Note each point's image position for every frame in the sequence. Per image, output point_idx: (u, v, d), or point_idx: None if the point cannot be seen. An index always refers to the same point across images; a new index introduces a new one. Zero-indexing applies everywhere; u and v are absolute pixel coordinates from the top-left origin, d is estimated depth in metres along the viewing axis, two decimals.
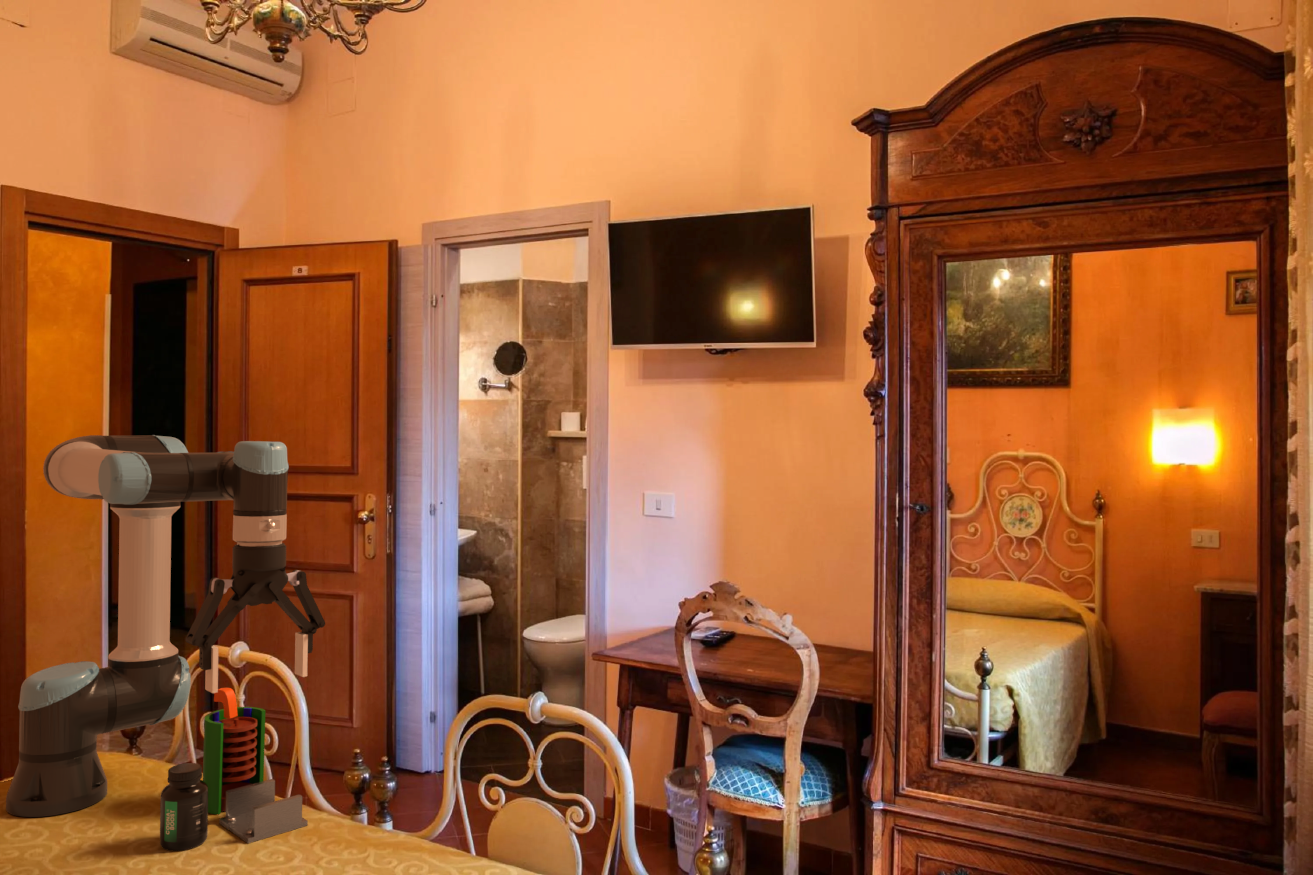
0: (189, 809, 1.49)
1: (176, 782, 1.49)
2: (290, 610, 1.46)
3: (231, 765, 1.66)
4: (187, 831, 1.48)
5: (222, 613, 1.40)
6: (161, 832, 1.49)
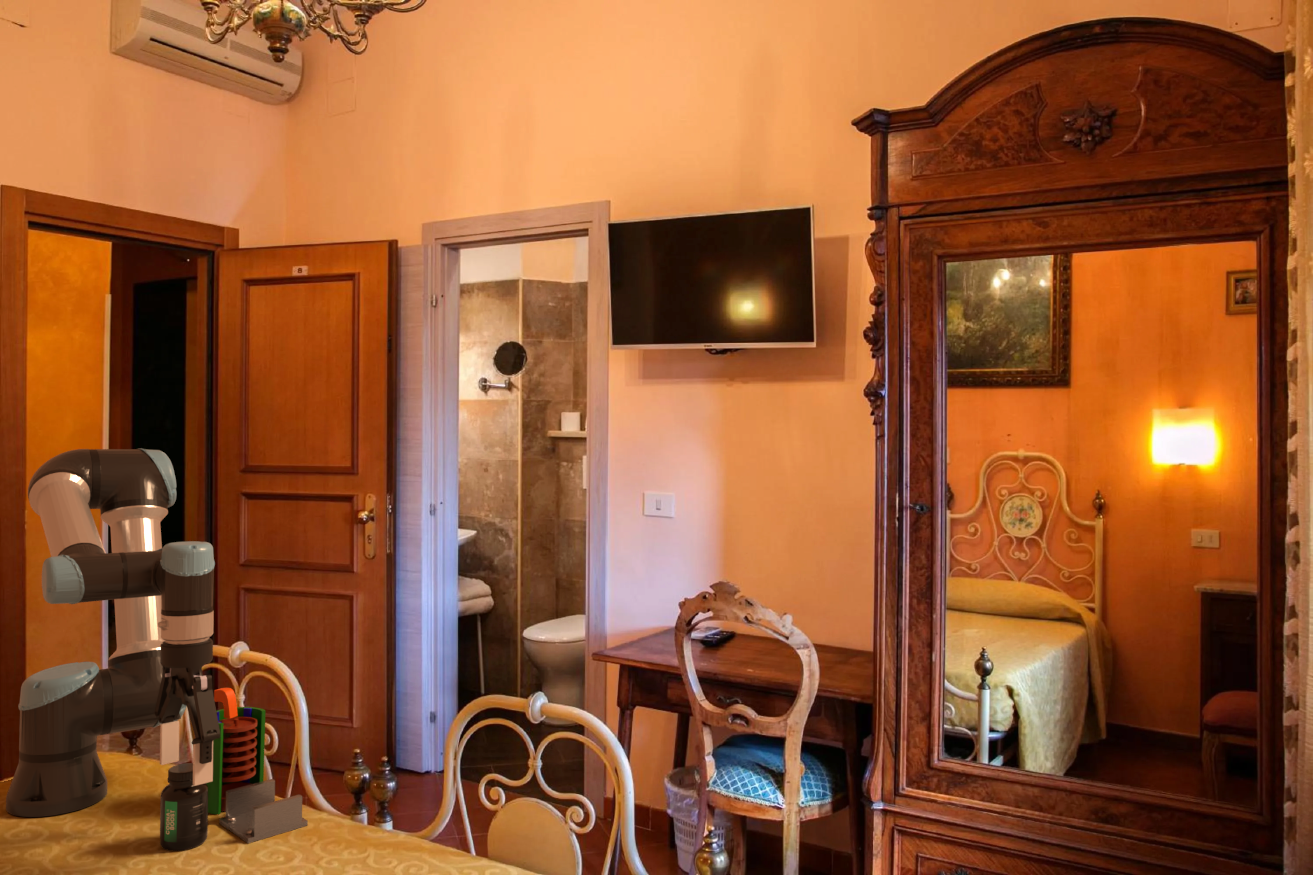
0: (189, 809, 1.49)
1: (176, 782, 1.49)
2: (189, 712, 1.47)
3: (231, 765, 1.66)
4: (187, 831, 1.48)
5: None
6: (161, 832, 1.49)
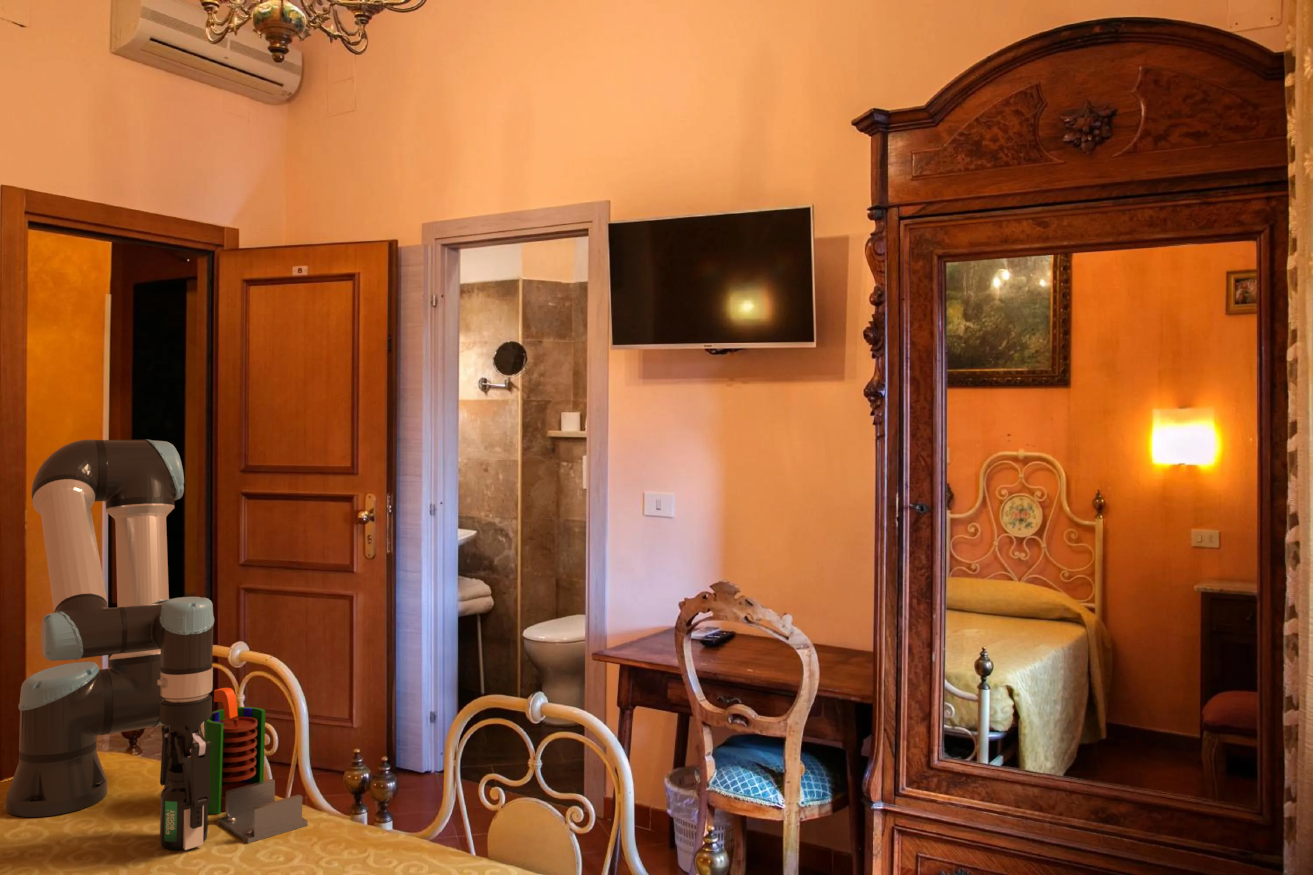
0: None
1: (176, 782, 1.49)
2: (183, 773, 1.48)
3: (231, 765, 1.66)
4: None
5: None
6: (161, 832, 1.49)
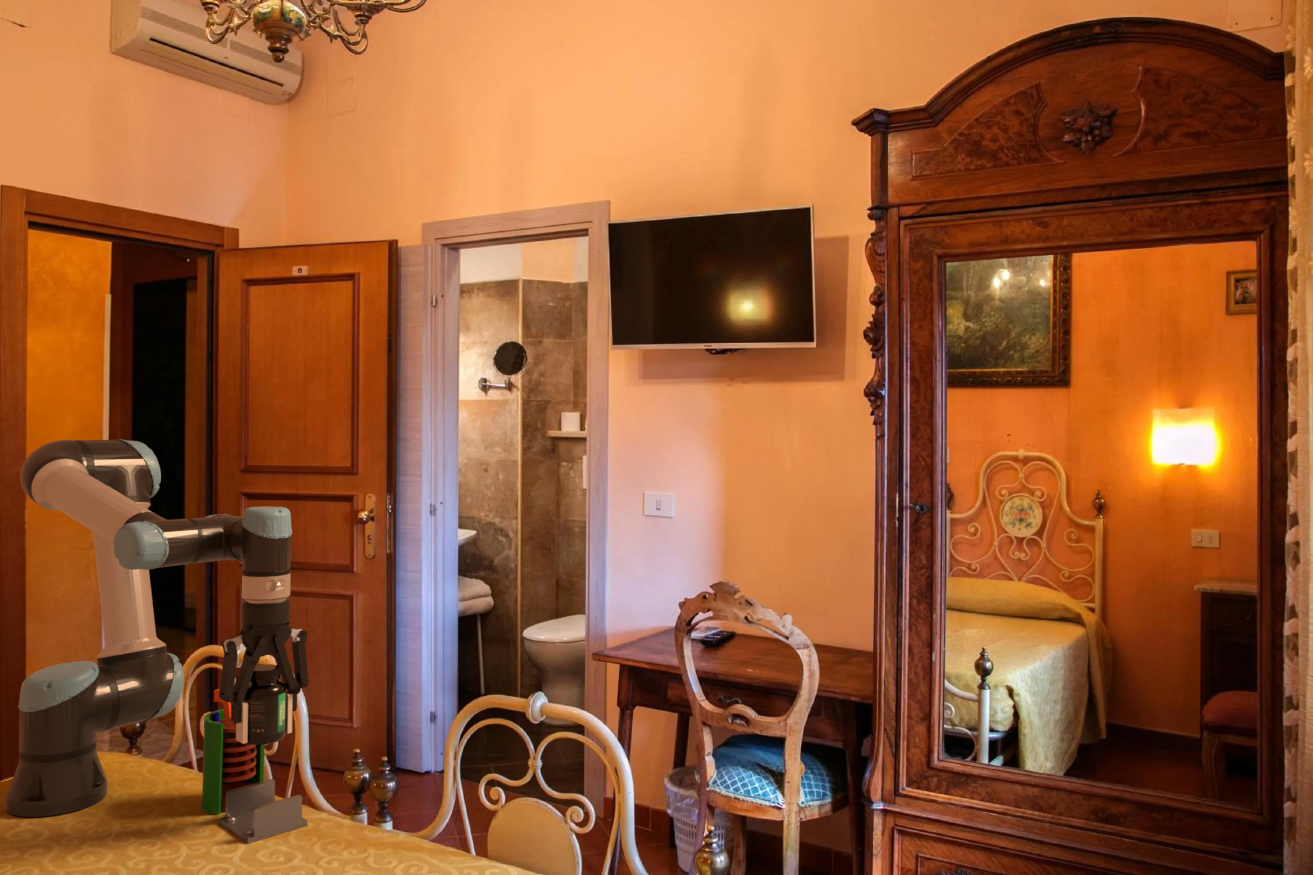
0: None
1: (279, 676, 1.59)
2: (284, 666, 1.60)
3: (231, 765, 1.66)
4: None
5: (242, 669, 1.56)
6: (272, 727, 1.56)
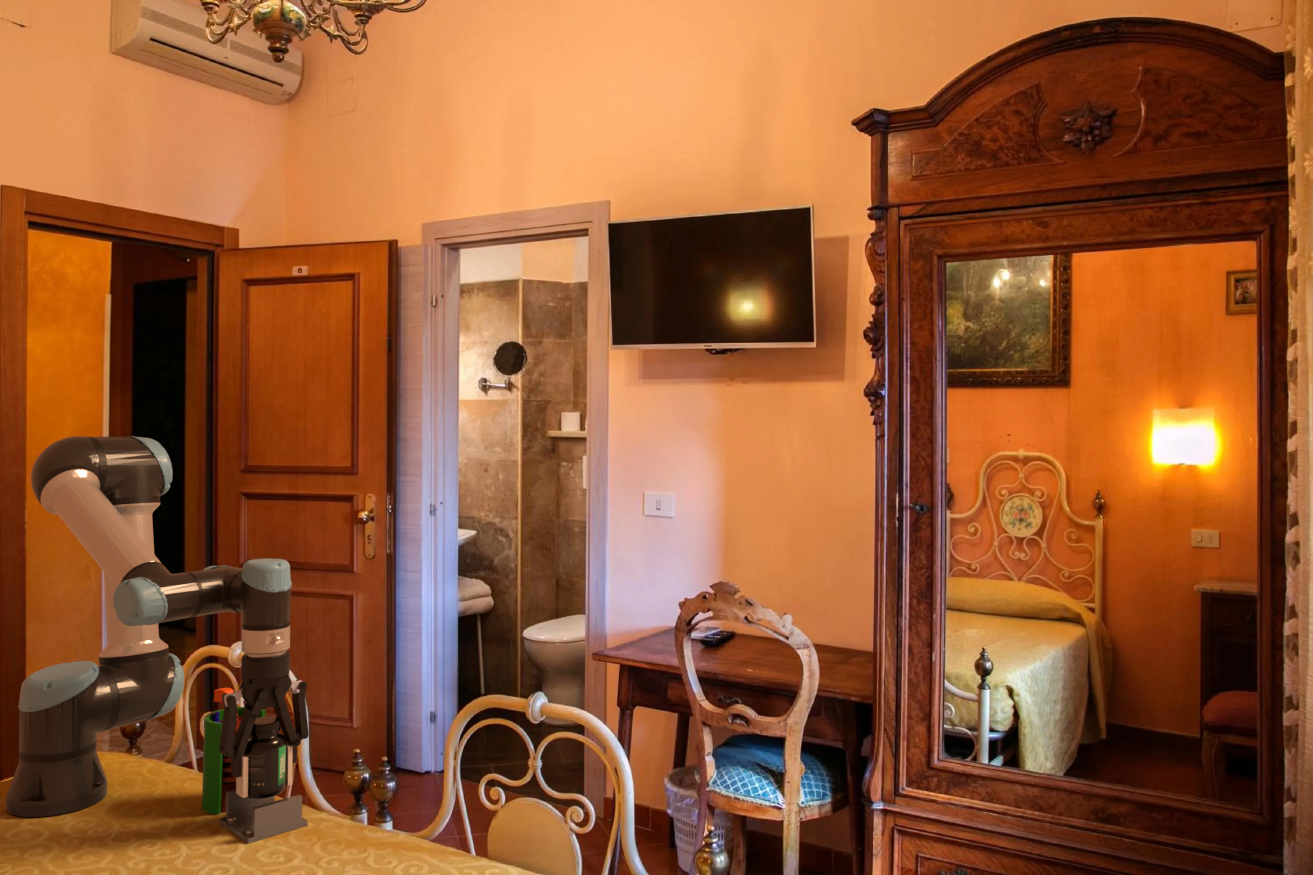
0: None
1: (279, 729, 1.59)
2: (284, 718, 1.60)
3: None
4: None
5: (242, 723, 1.56)
6: (272, 781, 1.56)
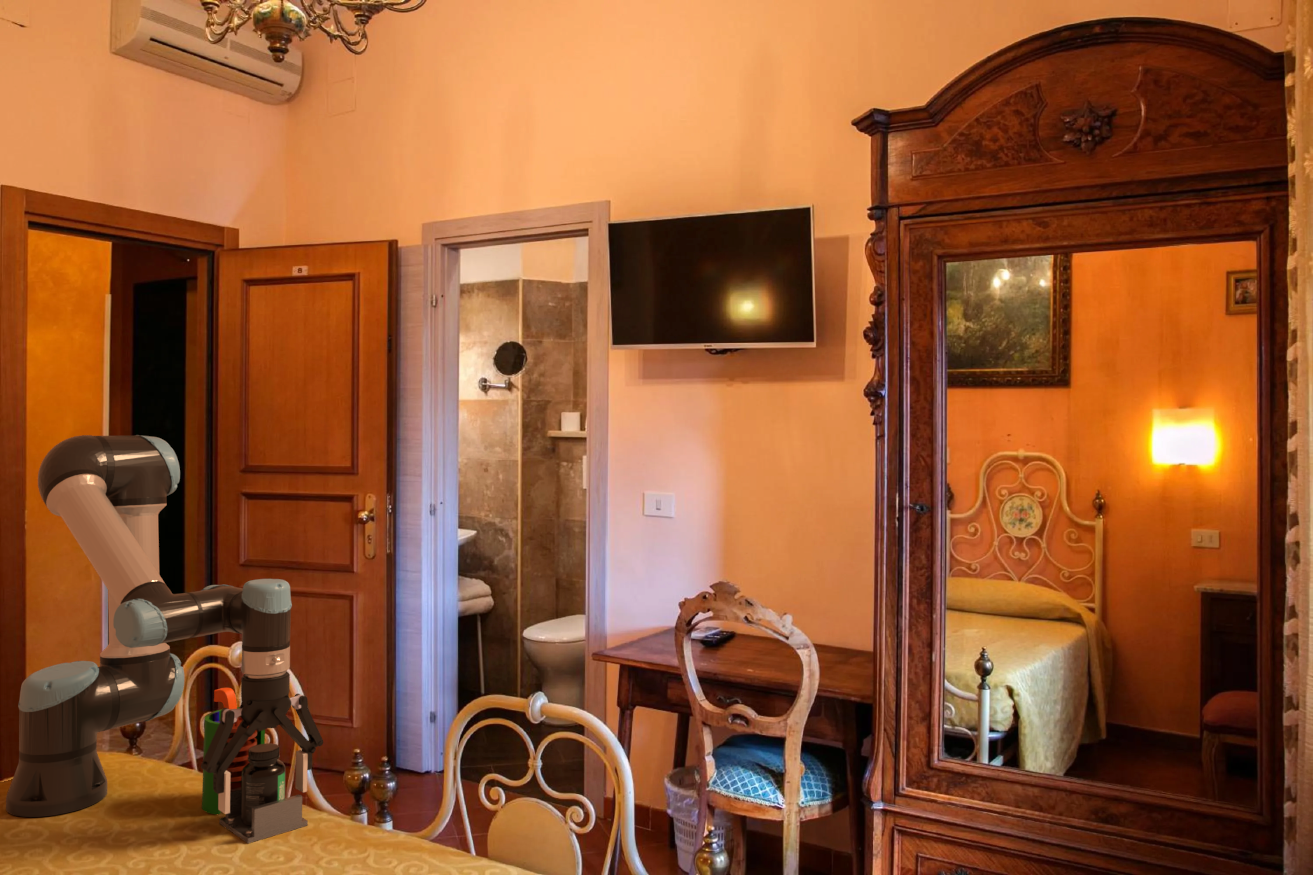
0: None
1: (278, 756, 1.59)
2: (292, 732, 1.61)
3: (231, 765, 1.66)
4: None
5: (233, 739, 1.55)
6: None
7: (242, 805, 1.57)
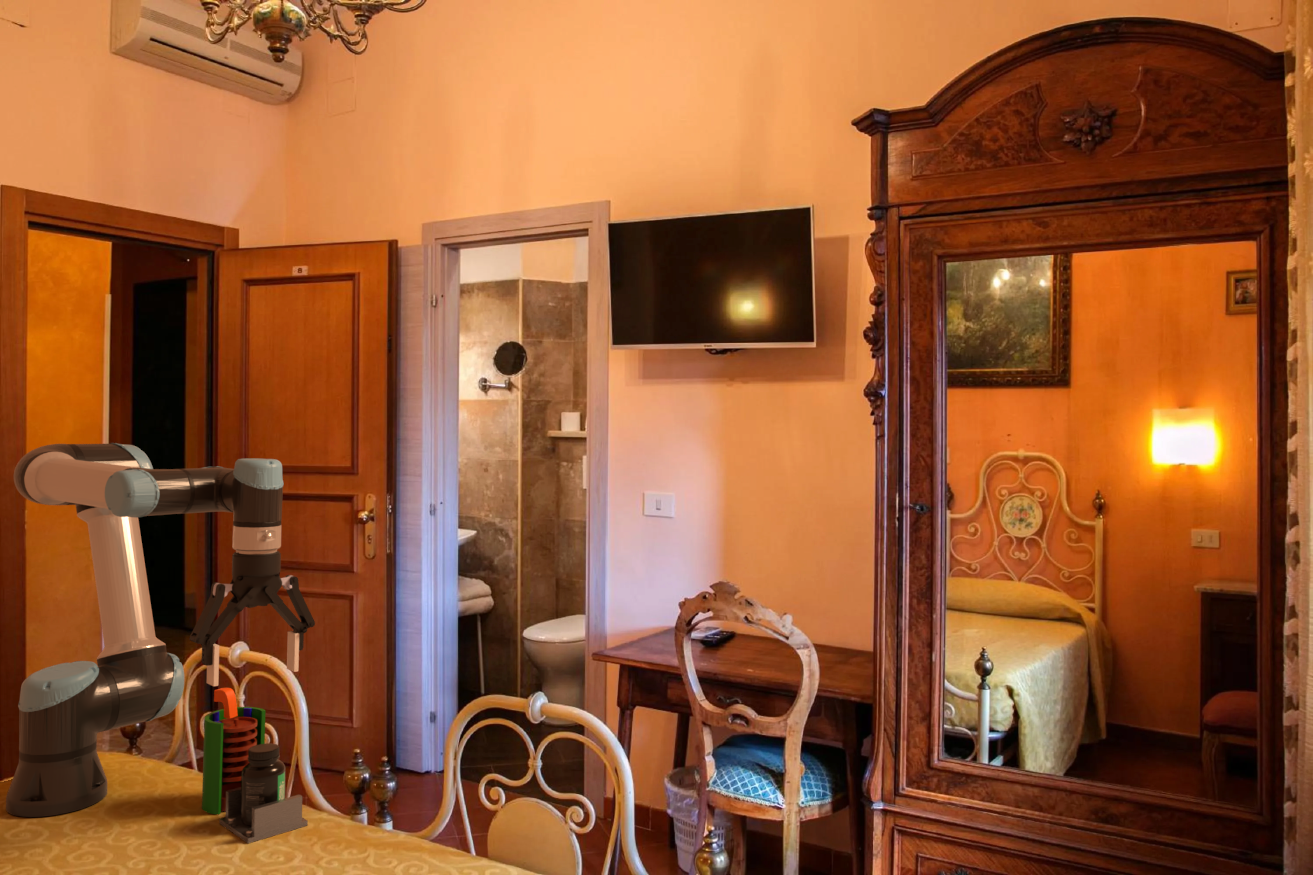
0: None
1: (278, 756, 1.59)
2: (283, 611, 1.61)
3: (231, 765, 1.66)
4: None
5: (222, 614, 1.55)
6: None
7: (242, 805, 1.57)
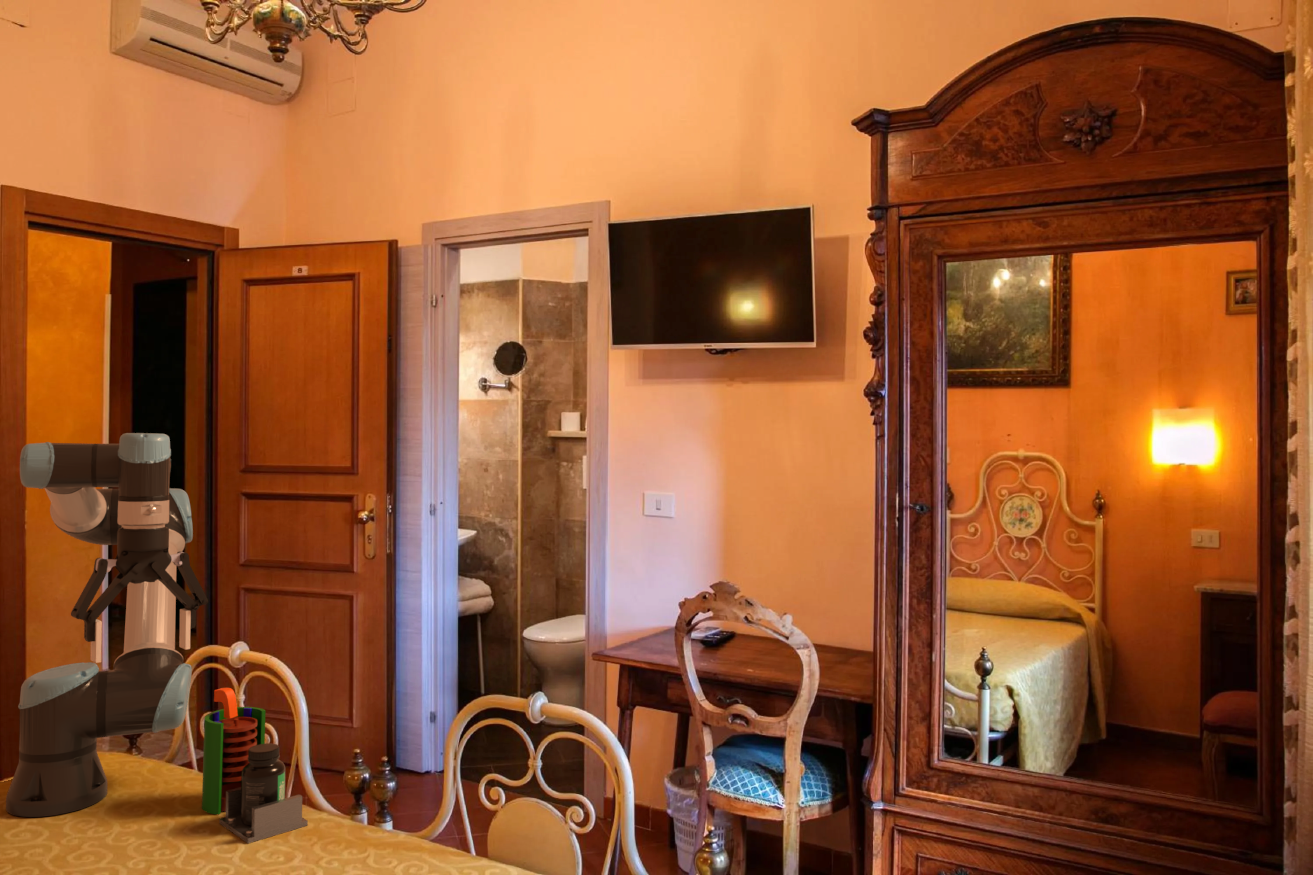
0: None
1: (278, 756, 1.59)
2: (173, 588, 1.59)
3: (231, 765, 1.66)
4: None
5: (106, 590, 1.53)
6: None
7: (242, 805, 1.57)
